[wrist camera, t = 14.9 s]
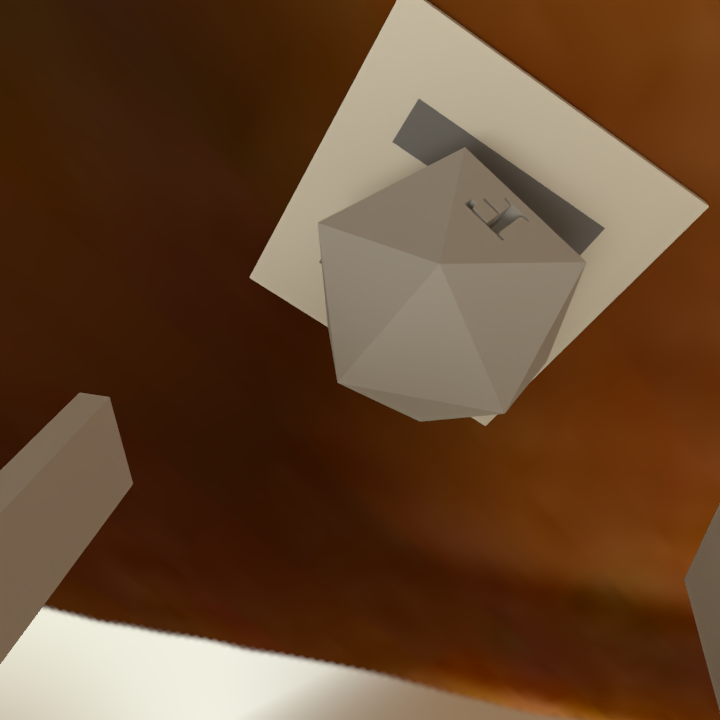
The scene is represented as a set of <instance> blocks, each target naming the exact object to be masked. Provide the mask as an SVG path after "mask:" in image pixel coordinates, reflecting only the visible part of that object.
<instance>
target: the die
mask: <svg viewBox="0 0 720 720" xmlns="http://www.w3.org/2000/svg"><path fill="white" fill-rule="evenodd" d="M318 231H319V242H320V252H321V262H322V273H323V283H324V293H325V304H326V314H327V324H328V330H329V336H330V342H331V348H332V353H333V359H334V365H335V371H336V377H337V382H338V383H339V384H341V385H343V386H345V387H348V388H350V389H352V390H354V391H356V392H358V393H360V394H362V395H365V396H367V397H369V398H371V399H373V400H375V401H377V402H379V403H381V404H384V405H386V406H388V407H390V408H392V409H394V410H396V411H398V412H400V413H403V414H405V415H407V416H409V417H411V418H413V419H415V420H417V421H420V422H421V421H432V420H443V419H454V418H465V417H475V416H486V415H497V414H505V413H506V412H507V410H508V409H509V408H510V407H511V405H512V404H513V403H514V402H515V400H516V399H517V398H518V397H519V395H520V394H521V393H522V392H523V390H524V389H525V388H526V387H527V385H528V384H529V383H530V382H531V380H532V379H533V378H534V377H535V376H536V374H537V373H538V372H539V371H540V369H541V368H542V367H543V366H544V364H545V363H546V362H547V359H548V357H549V354H550V352H551V349H552V347H553V344H554V342H555V339H556V337H557V334H558V332H559V329H560V327H561V324H562V322H563V319H564V317H565V314H566V312H567V310H568V307H569V305H570V302H571V300H572V297H573V295H574V292H575V290H576V287H577V285H578V282H579V280H580V277H581V275H582V272H583V270H584V267H585V265H586V261H585V260H584V259H583V258H582V257H581V256H580V255H579V254H577V253H576V252H575V251H574V250H573V249H572V248H571V247H570V246H569V245H568V244H567V243H566V242H565V241H564V240H563V239H562V238H561V237H559V236H558V235H557V234H556V233H555V232H554V231H553V230H552V229H551V228H550V227H549V226H548V225H547V224H546V223H545V222H544V221H543V220H541V219H540V218H539V217H538V216H537V215H536V214H535V213H534V212H533V211H532V210H531V209H530V208H529V207H528V206H527V205H526V204H525V203H523V202H522V201H521V200H520V199H519V198H518V197H517V196H516V195H515V194H514V193H513V192H512V191H511V190H510V189H509V188H508V187H507V186H505V185H504V184H503V183H502V182H501V181H500V180H499V179H498V178H497V177H496V176H495V175H494V174H493V173H492V172H491V171H490V170H489V169H488V168H486V167H485V166H484V165H483V164H482V163H481V162H480V161H479V160H478V159H477V158H476V157H475V156H474V155H473V154H472V153H471V152H470V151H468V150H467V149H466V148H465V147H464V148H462V149H460V150H458V151H456V152H454V153H452V154H451V155H449V156H447V157H445V158H443V159H441V160H439V161H437V162H435V163H433V164H431V165H429V166H427V167H425V168H423V169H421V170H419V171H417V172H415V173H413V174H411V175H410V176H408V177H406V178H404V179H402V180H400V181H398V182H396V183H394V184H392V185H390V186H388V187H386V188H384V189H382V190H380V191H378V192H376V193H374V194H372V195H370V196H369V197H367V198H365V199H363V200H361V201H359V202H357V203H355V204H353V205H351V206H349V207H347V208H345V209H343V210H341V211H339V212H337V213H335V214H333V215H331V216H329V217H328V218H326V219H324V220H322V221H320V222H318Z"/></svg>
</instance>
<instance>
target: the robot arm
mask: <svg viewBox="0 0 720 720" xmlns="http://www.w3.org/2000/svg"><path fill="white" fill-rule="evenodd" d="M132 485H133V482H132V478H131V475H130V471H129V467H128V463H127V460H126V456H125V452H124V449H123V445H122V441H121V438H120V434H119V430H118V426H117V423H116V419H115V415H114V412H113V408H112V404H111V401H110V397H106V396H99V395H92V394H86V393H79V394H78V395H77V396H76V397H75V398H74V399H73V400H72V401H71V402H70V403H69V404H68V405H67V406H65V407H64V408H63V409H62V410H61V411H60V412H59V413H58V414H57V415H56V416H55V417H54V418H53V419H52V420H51V421H50V422H49V423H48V424H47V425H46V426H45V427H44V428H43V429H42V430H41V431H40V432H39V433H38V434H37V435H36V436H35V437H34V438H33V439H32V440H31V441H30V442H29V443H28V444H27V445H26V446H25V447H24V448H23V449H22V450H21V451H20V452H19V453H18V454H17V455H16V456H15V457H14V458H13V459H12V460H11V461H10V462H8V463H7V464H6V465H5V466H4V467H3V468H2V469H1V470H0V664H1V662H2V661H3V660H4V658H5V657H6V656H7V654H8V653H9V651H10V650H11V649H12V647H13V646H14V645H15V643H16V642H17V641H18V639H19V638H20V636H21V635H22V634H23V632H24V631H25V630H26V628H27V627H28V626H29V624H30V623H31V622H32V620H33V619H34V618H35V616H36V615H37V614H38V612H39V611H40V609H41V608H42V607H43V605H44V604H45V603H46V601H47V600H48V599H49V597H50V596H51V595H52V593H53V592H54V591H55V589H56V588H57V586H58V585H59V584H60V582H61V581H62V580H63V578H64V577H65V576H66V574H67V573H68V572H69V570H70V569H71V567H72V566H73V565H74V563H75V562H76V561H77V559H78V558H79V557H80V555H81V554H82V553H83V551H84V550H85V548H86V547H87V546H88V544H89V543H90V542H91V540H92V539H93V538H94V536H95V535H96V534H97V532H98V531H99V529H100V528H101V527H102V525H103V524H104V523H105V521H106V520H107V519H108V517H109V516H110V515H111V513H112V512H113V510H114V509H115V508H116V506H117V505H118V504H119V502H120V501H121V500H122V498H123V497H124V496H125V494H126V493H127V491H128V490H129V489H130V487H131V486H132ZM684 581H685V584H686V588H687V592H688V595H689V599H690V603H691V607H692V610H693V614H694V618H695V621H696V625H697V629H698V633H699V636H700V640H701V644H702V647H703V651H704V655H705V659H706V662H707V666H708V670H709V673H710V677H711V681H712V685H713V688H714V692H715V696H716V699H717V703H718V707H719V710H720V504H719V506H718V508H717V511H716V513H715V515H714V517H713V519H712V521H711V523H710V525H709V528H708V530H707V532H706V534H705V536H704V538H703V540H702V543H701V545H700V547H699V549H698V551H697V553H696V555H695V557H694V560H693V562H692V564H691V566H690V568H689V570H688V572H687V574H686V577H685V579H684Z"/></svg>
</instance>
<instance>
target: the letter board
mask: <svg viewBox="0 0 720 720" xmlns="http://www.w3.org/2000/svg"><path fill="white" fill-rule="evenodd" d="M464 147H465V148H466V149H467V150H468V151H470V152H471V153H472V154H473V155H474V156H475V157H476V158H477V159H478V160H479V161H480V162H481V163H482V164H483V165H484V166H485V167H486V168H488V169H489V170H490V171H491V172H492V173H493V174H494V175H495V176H496V177H497V178H498V179H499V180H500V181H501V182H502V183H503V184H504V185H505V186H507V187H508V188H509V189H510V190H511V191H512V192H513V193H514V194H515V195H516V196H517V197H518V198H519V199H520V200H521V201H522V202H523V203H525V204H526V205H527V206H528V207H529V208H530V209H531V210H532V211H533V212H534V213H535V214H536V215H537V216H538V217H539V218H540V219H541V220H543V221H544V222H545V223H546V224H547V225H548V226H549V227H550V228H551V229H552V230H553V231H554V232H555V233H556V234H557V235H558V236H559V237H561V238H562V239H563V240H564V241H565V242H566V243H567V244H568V245H569V246H570V247H571V248H572V249H573V250H574V251H575V252H576V253H577V254H579V255H580V256H581V257H582V258H583V259H584V260H585V261H586V265H585V267H584V270H583V272H582V275H581V277H580V280H579V282H578V285H577V287H576V290H575V292H574V295H573V297H572V300H571V302H570V305H569V307H568V310H567V312H566V314H565V317H564V319H563V322H562V324H561V327H560V329H559V332H558V334H557V337H556V339H555V342H554V344H553V347H552V349H551V352H550V354H549V357H548V359H547V362H546V363H545V364H544V366H543V367H542V368H541V369H540V371H539V372H538V373H537V374H536V376H537V375H538V374H539V373H540V372H541V371H542V370H543V369H544V368H545V367H546V366H547V365H548V364H549V363H550V362H551V361H552V360H553V359H554V358H555V357H556V356H557V355H558V354H560V353H561V352H562V351H563V350H564V349H565V348H566V347H567V346H568V345H569V344H570V343H571V342H572V341H573V340H574V339H575V338H576V337H577V336H578V335H579V334H580V333H581V332H582V331H583V330H584V329H585V328H586V327H587V326H588V325H589V324H590V323H591V322H592V321H593V320H594V319H595V318H596V317H597V316H598V315H599V314H600V313H601V312H602V311H603V310H604V309H605V308H606V307H607V306H608V305H609V304H610V303H611V302H613V301H614V300H615V299H616V298H617V297H618V296H619V295H620V294H621V293H622V292H623V291H624V290H625V289H626V288H627V287H628V286H629V285H630V284H631V283H632V282H633V281H634V280H635V279H636V278H637V277H638V276H639V275H640V274H641V273H642V272H643V271H644V270H645V269H646V268H647V267H648V266H649V265H650V264H651V263H652V262H653V261H654V260H655V259H656V258H657V257H658V256H659V255H660V254H661V253H662V252H663V251H664V250H666V249H667V248H668V247H669V246H670V245H671V244H672V243H673V242H674V241H675V240H676V239H677V238H678V237H679V236H680V235H681V234H682V233H683V232H684V231H685V230H686V229H687V228H688V227H689V226H690V225H691V224H692V223H693V222H694V221H695V220H696V219H697V218H698V217H699V216H700V215H701V214H702V213H703V212H704V211H705V210H706V209H707V208H708V207H709V206H708V204H707V203H706V202H705V201H704V200H703V199H701V198H700V197H699V196H697V195H696V194H694V193H693V192H692V191H690V190H689V189H688V188H686V187H685V186H683V185H682V184H681V183H679V182H678V181H676V180H675V179H674V178H672V177H671V176H670V175H668V174H667V173H665V172H664V171H663V170H661V169H660V168H658V167H657V166H656V165H654V164H653V163H652V162H650V161H649V160H647V159H646V158H645V157H643V156H642V155H640V154H639V153H638V152H636V151H635V150H634V149H632V148H631V147H629V146H628V145H627V144H625V143H624V142H622V141H621V140H620V139H618V138H617V137H616V136H614V135H613V134H611V133H610V132H609V131H607V130H606V129H604V128H603V127H602V126H600V125H599V124H598V123H596V122H595V121H593V120H592V119H591V118H589V117H588V116H586V115H585V114H584V113H582V112H581V111H580V110H578V109H577V108H575V107H574V106H573V105H571V104H570V103H568V102H567V101H566V100H564V99H563V98H562V97H560V96H559V95H557V94H556V93H555V92H553V91H552V90H550V89H549V88H548V87H546V86H545V85H544V84H542V83H541V82H539V81H538V80H537V79H535V78H534V77H532V76H531V75H530V74H528V73H527V72H526V71H524V70H523V69H521V68H520V67H519V66H517V65H516V64H514V63H513V62H512V61H510V60H509V59H508V58H506V57H505V56H503V55H502V54H501V53H499V52H498V51H497V50H495V49H494V48H492V47H491V46H490V45H488V44H487V43H485V42H484V41H483V40H481V39H480V38H479V37H477V36H476V35H474V34H473V33H472V32H470V31H469V30H467V29H466V28H465V27H463V26H462V25H461V24H459V23H458V22H456V21H455V20H454V19H452V18H451V17H449V16H448V15H447V14H445V13H444V12H443V11H441V10H440V9H438V8H437V7H436V6H434V5H433V4H431V3H430V2H429V1H427V0H397V1H396V3H395V5H394V7H393V9H392V11H391V12H390V14H389V16H388V18H387V20H386V22H385V24H384V26H383V27H382V29H381V31H380V33H379V35H378V37H377V39H376V41H375V42H374V44H373V46H372V48H371V50H370V52H369V54H368V56H367V58H366V59H365V61H364V63H363V65H362V67H361V69H360V71H359V73H358V74H357V76H356V78H355V80H354V82H353V84H352V86H351V88H350V89H349V91H348V93H347V95H346V97H345V99H344V101H343V103H342V104H341V106H340V108H339V110H338V112H337V114H336V116H335V118H334V119H333V121H332V123H331V125H330V127H329V129H328V131H327V133H326V135H325V136H324V138H323V140H322V142H321V144H320V146H319V148H318V150H317V151H316V153H315V155H314V157H313V159H312V161H311V163H310V165H309V166H308V168H307V170H306V172H305V174H304V176H303V178H302V180H301V181H300V183H299V185H298V187H297V189H296V191H295V193H294V195H293V197H292V198H291V200H290V202H289V204H288V206H287V208H286V210H285V212H284V213H283V215H282V217H281V219H280V221H279V223H278V225H277V227H276V228H275V230H274V232H273V234H272V236H271V238H270V240H269V242H268V243H267V245H266V247H265V249H264V251H263V253H262V255H261V257H260V258H259V260H258V262H257V264H256V266H255V268H254V270H253V272H252V274H251V275H250V277H249V278H251V279H252V280H254V281H255V282H257V283H259V284H260V285H262V286H263V287H265V288H266V289H268V290H270V291H271V292H273V293H274V294H276V295H278V296H279V297H281V298H282V299H284V300H286V301H287V302H289V303H290V304H292V305H293V306H295V307H297V308H298V309H300V310H301V311H303V312H305V313H306V314H308V315H309V316H311V317H313V318H314V319H316V320H317V321H319V322H321V323H322V324H324V325H325V326H327V327H328V324H327V314H326V304H325V293H324V283H323V273H322V262H321V252H320V242H319V231H318V222H320V221H322V220H324V219H326V218H328V217H329V216H331V215H333V214H335V213H337V212H339V211H341V210H343V209H345V208H347V207H349V206H351V205H353V204H355V203H357V202H359V201H361V200H363V199H365V198H367V197H369V196H370V195H372V194H374V193H376V192H378V191H380V190H382V189H384V188H386V187H388V186H390V185H392V184H394V183H396V182H398V181H400V180H402V179H404V178H406V177H408V176H410V175H411V174H413V173H415V172H417V171H419V170H421V169H423V168H425V167H427V166H429V165H431V164H433V163H435V162H437V161H439V160H441V159H443V158H445V157H447V156H449V155H451V154H452V153H454V152H456V151H458V150H460V149H462V148H464ZM536 376H535V377H536ZM535 377H534V378H535ZM534 378H533V379H534ZM533 379H532V380H533ZM532 380H531V381H532ZM495 416H496V415H486V416H475V417H472V418H473V419H475V420H476V421H478V422H479V423H481V424H483V425H484V426H486V425H487V424H488V423H489V422H490V421H491V420H492V419H493V418H494V417H495Z"/></svg>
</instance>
